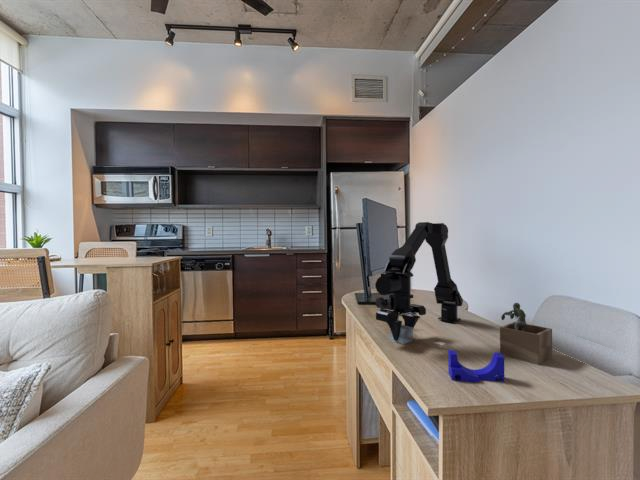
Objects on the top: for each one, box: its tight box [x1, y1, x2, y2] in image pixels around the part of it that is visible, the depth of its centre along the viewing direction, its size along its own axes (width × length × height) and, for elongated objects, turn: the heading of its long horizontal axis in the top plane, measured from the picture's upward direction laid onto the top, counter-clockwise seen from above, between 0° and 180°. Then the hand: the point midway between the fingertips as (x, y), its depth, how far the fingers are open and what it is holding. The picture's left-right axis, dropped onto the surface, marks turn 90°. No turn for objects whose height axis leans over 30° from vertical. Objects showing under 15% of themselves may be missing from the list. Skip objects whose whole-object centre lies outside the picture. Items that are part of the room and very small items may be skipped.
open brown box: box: [499, 321, 553, 366], centre depth 95 cm, size 10×10×8 cm
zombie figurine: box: [500, 302, 528, 332], centre depth 99 cm, size 5×7×15 cm
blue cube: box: [390, 324, 414, 345], centre depth 108 cm, size 5×5×5 cm
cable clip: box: [447, 349, 505, 383], centre depth 80 cm, size 12×4×6 cm, turn 78°
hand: (401, 338), depth 108 cm, fingers open, 5 cm apart
